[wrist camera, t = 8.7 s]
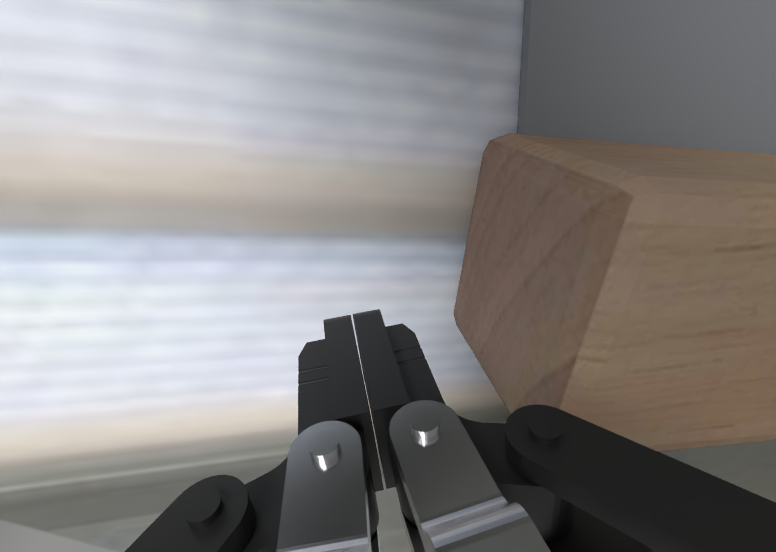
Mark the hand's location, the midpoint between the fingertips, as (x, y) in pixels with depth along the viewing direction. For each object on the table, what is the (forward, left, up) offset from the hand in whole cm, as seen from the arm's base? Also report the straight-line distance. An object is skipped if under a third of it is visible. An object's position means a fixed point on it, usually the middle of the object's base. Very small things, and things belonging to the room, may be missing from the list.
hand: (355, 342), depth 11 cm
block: (+1, +6, -4) cm, 8 cm away
